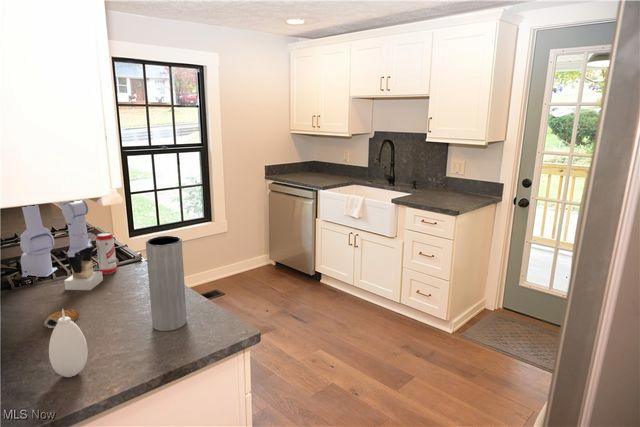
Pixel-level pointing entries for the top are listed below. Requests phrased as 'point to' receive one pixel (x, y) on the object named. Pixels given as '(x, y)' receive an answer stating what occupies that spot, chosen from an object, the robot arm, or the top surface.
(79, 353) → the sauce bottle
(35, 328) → the top surface
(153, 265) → the vase
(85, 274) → the maple cube
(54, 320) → the pastry
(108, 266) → the beer can
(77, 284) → the white block
